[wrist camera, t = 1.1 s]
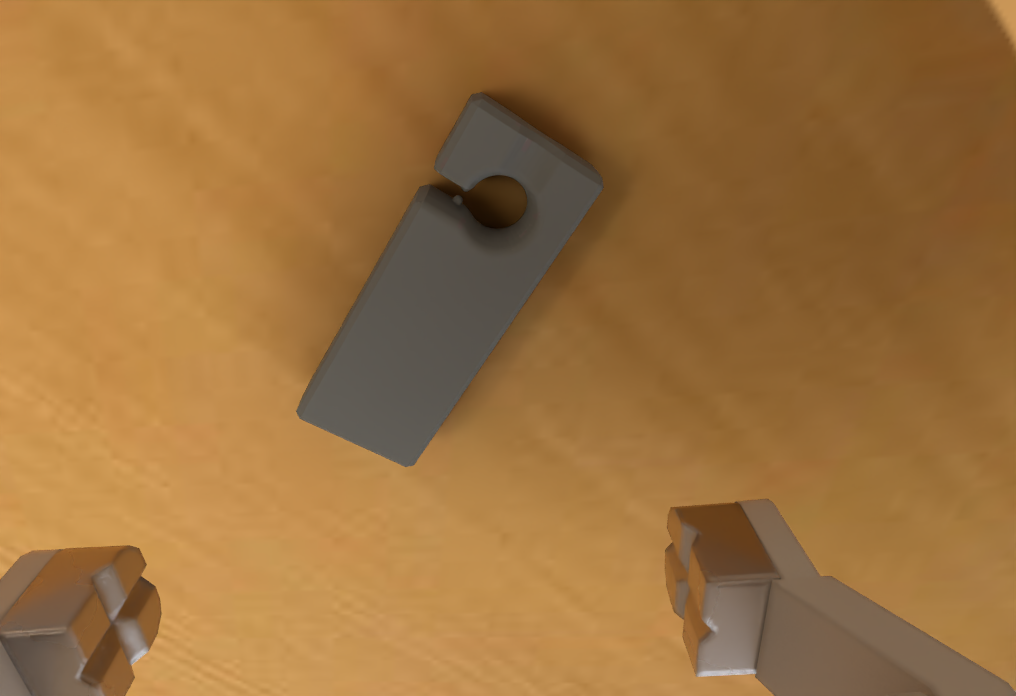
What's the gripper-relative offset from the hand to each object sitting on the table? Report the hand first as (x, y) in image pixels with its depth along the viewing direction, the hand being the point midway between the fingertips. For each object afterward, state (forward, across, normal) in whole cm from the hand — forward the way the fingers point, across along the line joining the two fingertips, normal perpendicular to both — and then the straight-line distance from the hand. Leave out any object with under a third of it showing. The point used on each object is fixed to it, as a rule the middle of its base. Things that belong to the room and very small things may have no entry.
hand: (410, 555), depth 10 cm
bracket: (+11, 0, -1) cm, 11 cm away
